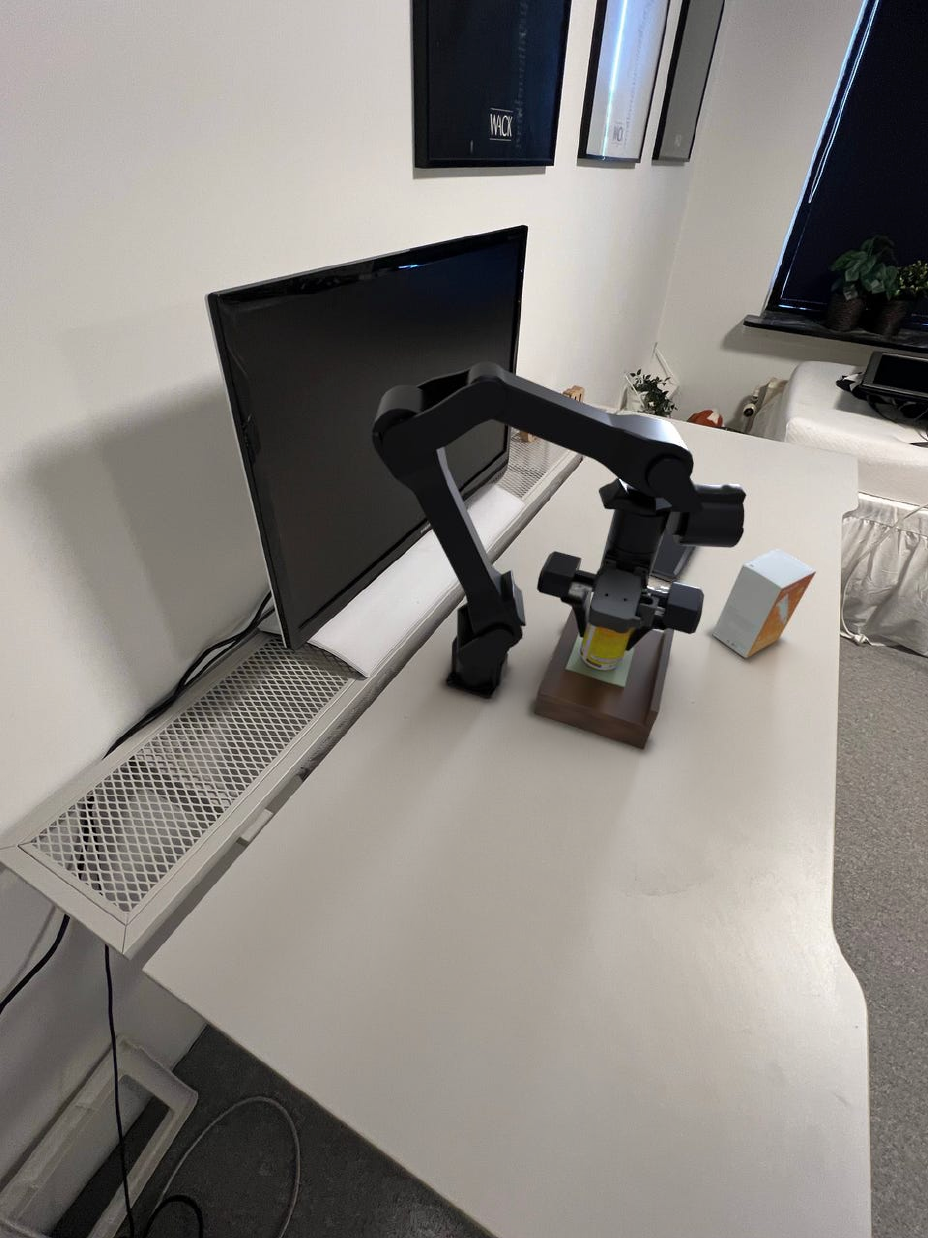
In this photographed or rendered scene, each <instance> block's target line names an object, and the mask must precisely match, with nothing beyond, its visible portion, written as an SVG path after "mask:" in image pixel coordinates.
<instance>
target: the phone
mask: <svg viewBox="0 0 928 1238" xmlns="http://www.w3.org/2000/svg"><path fill="white" fill-rule="evenodd" d="M696 547H697V546H680V545H678V544H677V543H676V542H675V539H674V536H670V535H669V534H668V532H667V527H666V528H665V531H664V534H663V538H662V541H661V544H660V547H659V550H658V553H657V556H656V559H655V562H654V565H653V569H652V572H651V575H650V576H651V577H655V578H657V579H661V580H663V581H666V582H669V583H671V582H678V580H679V577H680V576H681V574H682V572H683V571H684V569H685V567H686V565H687V563H688V561H690V557H691V556H692V554H693V553H694V551H695V549H696Z"/></svg>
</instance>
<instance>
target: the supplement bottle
mask: <svg viewBox="0 0 928 1238" xmlns="http://www.w3.org/2000/svg"><path fill="white" fill-rule="evenodd" d="M632 630H633V627H631V629H630V631H629V632H627V633H624V634H620V633H617V632H615V631H613V630H609V629H606V628H602V627H596V626H593V625H591V624H590V623H589V622H588V621H587V625H586V628H585V632H584V636H583V640H582V644H581V648H580V654H581V657H582V659H583V660H584V662H585V663H586V664H588V665H589V666H591V667H593V668H595V669H598V670H611V669H614V668H616V667H618V666H619V665H620V663H621V662H622V659H623V656H624V653H625V651H626V647H627V644H628V641H629V639H630V636H631V633H632Z"/></svg>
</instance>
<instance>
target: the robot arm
mask: <svg viewBox="0 0 928 1238" xmlns="http://www.w3.org/2000/svg"><path fill="white" fill-rule="evenodd" d="M377 408H378V409H377V411H376V415H375V417H374V422H373V425H372V426H373V427H372V429H371V436H370V438H371V445H372V448H373V450H374V453H376V455H377V457H378V458H379V459H380V461H381V462H382V463H383V465H384V466H385V467H386V468H387V470H388V471H389V473H390V474H391V475H392V476H393V478H394V479H395V480H396V481H398V482H399V483H400V484H402V485H403V486H404V487H405V488H406V489H408V490H409V491H411V492H412V494H413V495H414V496H415V498H416V500H417V501H418V503H419V505H420V509H422V511H423V514H424V515H425V517H426V519H427V521H428V523H429V525H430V527H431V529H432V531H433V533H434V535H435V537H436V539H437V541H438V543H439V545H440V546H441V548H442V551H443V552H444V553H443V554H445V557H446V558H447V561H448V562H449V564H450V567H451V569H452V570H453V572H454V574H455V576H456V578H457V580H458V583H459V584H460V586H461V588H462V590H463V592H464V595H465V599H466V603H464V604H463V605H461V606H460V607H458V608H457V609H456V636H455V637H454V639H453V641H452V642H451V659H450V672H449V674H448V675H447V677H446V679H445V685H447V686H449V687H452V688H455V689H458V690H460V691H464V692H467V693H470V694H473V695H476V696H479V697H483V698H485V699H491V698H492V697H493V696H494V694H495V691H496V690H497V688H499V687H501V685H502V683H503V681H504V679H505V677H506V673H507V665H508V659H509V654H508V652H509V651H510V649H511V648H514V647H515V646H516V645H518V644H519V643H520V641H521V640H523V635H524V633H523V627H526V626H527V622H526V614H525V607H524V598H523V597H524V596H523V590H522V589H521V588H519V586H518V585H517V584H516V581H515V577H514V572H513V569H510V570H508V571H505V572H503V573H501V572H500V571H498V570H497V569H495V567H494V566H493V564H492V561H491V560H490V558H489V555H488V553H487V551H486V548H485V546H484V544H483V542H482V540H481V538H480V535H479V533H478V530H477V529H476V526H475V524H474V522H473V520H472V518H471V516H470V513H469V510H468V509H467V507H466V505H465V502H464V500H463V497H462V496H461V494H460V491H459V489H458V487H457V484H456V482H455V480H454V478H453V476H452V474H451V471H450V470H449V466H448V460H447V456H446V450H445V447H447V446H448V445H450V444H452V443H454V441H457V440H458V439H459V438H460V437H462V436H464V435H466V433H468V432H469V431H471V430H473V429H474V428H475V427H477V426H479V425H481V424H483V423H485V422H488V421H490V420H492V421H494V422H496V423H500V424H502V425H505V426H508V427H509V428H513V429H515V430H518V431H520V432H523V433H526V434H528V435H531V436H533V437H536V438H538V439H541V440H543V441H546V442H549V443H551V444H553V445H556V446H559V447H560V448H561V447H562V448H564V449H566V450H568V451H571V452H574V453H577V454H579V455H582V456H585V457H587V458H589V459H592V460H594V461H596V462H598V463H599V464H601V465H602V466H603V467H605V468H606V469H607V470H608V471H610V472H611V473H612V474H613V475H615V476H616V478H615V479H614V480H613V481H611V482H610V483H609V482H608V483H606V484H604V485H603V486H601V487H599V489H598V494H599V497H600V500H601V502H602V505H603V508H604V509H605V510H613V514H612V518H611V521H610V525H609V530H608V533H607V536H606V540H605V545H604V550H603V552H602V556H601V560H600V564H599V565H600V566H599V568H598V569H597V571H596V573H594V572H589V571H585V570H581V569H580V567H581V564H582V557H580V556H575V555H571V554H569V553H568V554H567V553H564V552H560V551H557V550H554V551H552V552H551V553H549V554H548V556H547V558H546V560H545V561H544V564H543V566H542V568H541V570H540V572H539V575H538V578H537V585H536V590H537V591H538V592H539V593H541V594H544V595H548V596H550V597H553V598H554V597H555V598H558V599H559V600H560V602H561V603H563V604H566V605H568V606H570V607H571V609H573V611H574V614H575V617H576V621H577V626H578V631H579V635H580V637H581V638H583V636H584V632H585V628H586V625H587V621H588V622H589V623H590V624H591V625H593V626H596V627H602V628H606V629H609V630H613V631H615V632H617V633H620V634H624V633H627V632H629V631H630V629H631V627H633V630H632V633H631V636H630V639H629V641H628V644H627V647H626V651H630V650H631V649H632V648H633V647H634V645H635V644H636V643H637V642H638V641H639V640H640V639H641V638H642V637H643V636H644V635H646V634H647V633H648V632H649V631H651V630H657V631H661V632H664V630H666V629H667V628H669V629H673V630H674V631H677V632H680V633H684V634H688V635H692V634H695V633H696V631H697V629H698V627H699V624H700V623H701V622H700V621H701V618H702V616H703V615H702V614H703V607H704V600H705V594H704V592H703V590H702V588H699V587H695V586H692V585H687V584H684V583H680V582H677V581H675V582H670V584H669V587H665V586H659V585H658V586H654V587H651V586H649V581H650V577H651V576H652V575H651V572H652V569H653V565H654V562H655V559H656V556H657V553H658V550H659V547H660V544H661V541H662V538H663V534H664V531H665V528H666V527H667V532H668V534H669V535H670V536H674V539H675V542H676V543H677V544H678V545H680V546H696V547H703V548H705V547H706V548H728V549H731V548H734V547H735V546H737V545H738V544H739V543H740V541H741V540H742V538H743V535H744V532H745V528H744V525H745V505H744V503H745V500H746V497H747V494H746V492H745V490H744V489H743V488H742V486H741V485H740V484H736V483H735V484H733V483H727V484H720V485H719V484H717V485H716V484H696V483H694V480H693V479H692V478H691V476H692V474H693V471H694V465H695V463H694V458H693V454H692V452H691V451H690V449H689V448H688V446H687V445H686V443H685V442H684V440H683V438H682V437H681V435H680V434H679V432H678V431H677V430H676V428H675V427H674V425H673V424H671V422H668V421H666V420H664V419H661V418H655V417H650V416H647V415H646V416H645V415H641V414H635V413H631V414H630V413H629V414H616V413H611V412H608V411H604V410H601V409H600V408H598V407H597V408H596V407H594V406H592V405H590V404H588V403H585V402H582V401H580V400H577V399H575V398H572V397H571V396H568V395H565V394H563V393H561V392H558V391H556V390H553V389H551V388H549V387H546V386H544V385H541V384H539V383H536V382H534V381H531V380H529V379H527V378H524V377H522V376H519V375H517V374H515V373H512V372H510V371H508V370H505V369H504V368H502V367H501V366H500V365H499V364H498V363H495V362H491V361H482V362H478V363H476V364H474V365H472V366H470V367H467V368H466V369H464V370H461V371H456V372H451V373H448V374H442V375H438V376H435V377H432V378H430V379H427V380H425V381H423V382H421V383H419V384H417V385H410V384H401V385H396V386H393V387H392V388H389V390H387V391H386V392H385V393H384V395H383V396H382V397H381V399H380V402H379V405H378V407H377ZM592 593H593V594H592Z"/></svg>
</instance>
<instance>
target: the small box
mask: <svg viewBox="0 0 928 1238" xmlns="http://www.w3.org/2000/svg"><path fill="white" fill-rule="evenodd" d="M816 573H817V570H816V569H814V568H812V567H810V566H809V565H807V564H805V563H804V562H802V561H800V560H799V559H797V558H795V557H793V556H792V555H790V554H789V553H787V552H785V551H783V550H781V549H780V548H776V549H773V550H771V551H769V552H766V553H764V554H761V555H759V556H757V557H756V558H754V559H752V560H750V561H748V562H746V563H743V564H742V566H741V568H740V570H739V573H738V575H737V577H736V579H735V581H734V583H733V585H732V588H731V589H730V592H729V594H728V597H727V598H726V602H725V604H724V606H723V609H722V610H721V613H720V615H719V616H718V619H717V621H716V624H715V625H714V627H713V630H712V632H711V635H712V636H714V637H715V638H716V639H718V640H719V641H721V642H722V643H723V644H725V645H726V646H727V647H728V648H730V649H732V650H733V651H734V652H736V653H737V654H739V655H740V656H742V657H743V658H744V659H749V658H750V657H751V656H753V655H755V654H756V653H758V652H759V651H761V650H763V649H764V648H766V647H768V646H770V645H771V644H773V643H775V642H778V641H779V640H780V639H781V638H780V637H781V636H782V634H783V632H784V630H785V629H786V627H787V626H788V623H789V621H790V620H791V617H792V616H793V614H794V612H795V611H796V609H797V607H798V606H799V603H800V601H801V600H802V598H803V597H804V595H805V592H806V591H807V589H808V587H809V586H810V584H811V582H812V580H813V578H814V576H815V575H816Z"/></svg>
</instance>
